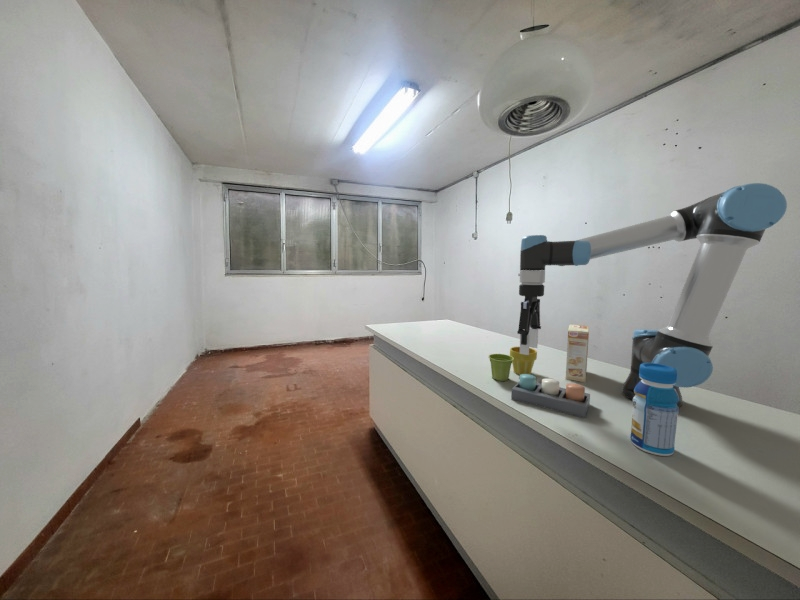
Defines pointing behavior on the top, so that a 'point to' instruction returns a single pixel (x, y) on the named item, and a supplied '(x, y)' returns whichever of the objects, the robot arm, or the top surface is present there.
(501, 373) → the plant pot
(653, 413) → the beverage bottle
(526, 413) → the top surface
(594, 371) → the top surface
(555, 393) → the cream egg
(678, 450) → the top surface
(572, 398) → the terracotta egg
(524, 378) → the teal egg
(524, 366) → the plant pot
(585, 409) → the egg display tray
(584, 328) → the coffeecake box
